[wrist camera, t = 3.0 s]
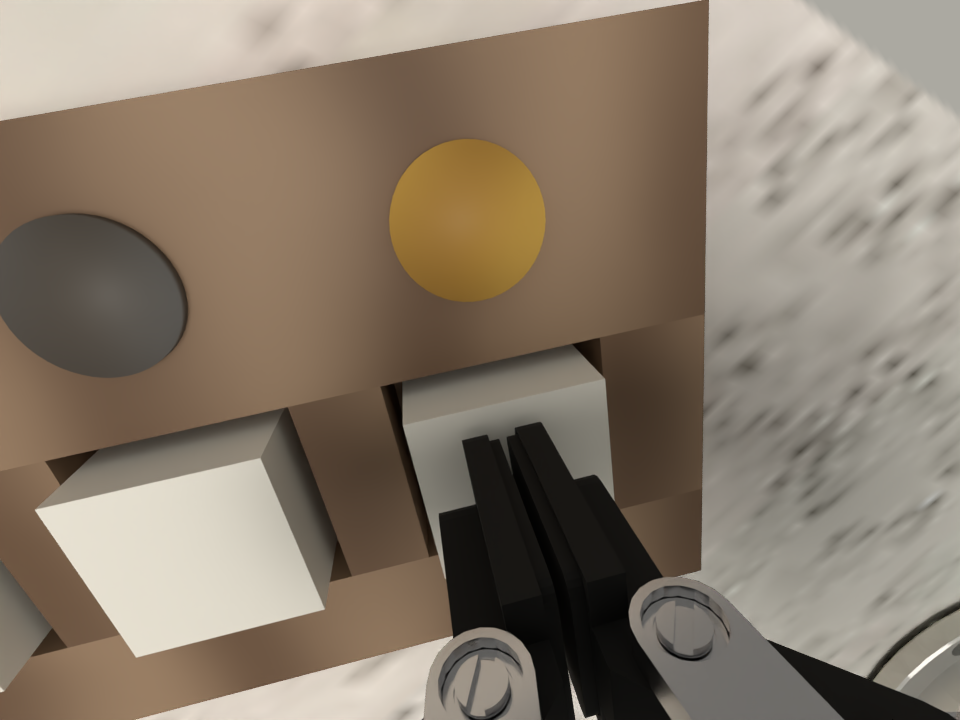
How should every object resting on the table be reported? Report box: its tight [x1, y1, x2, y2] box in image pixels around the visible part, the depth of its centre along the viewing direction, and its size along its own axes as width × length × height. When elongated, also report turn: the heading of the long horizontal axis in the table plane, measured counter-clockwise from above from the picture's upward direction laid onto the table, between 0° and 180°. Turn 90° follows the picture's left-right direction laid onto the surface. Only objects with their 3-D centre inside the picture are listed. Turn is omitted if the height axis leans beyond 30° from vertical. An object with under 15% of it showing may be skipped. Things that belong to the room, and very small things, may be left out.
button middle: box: [35, 407, 337, 658], centre depth 11 cm, size 4×4×2 cm
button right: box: [402, 344, 615, 579], centre depth 12 cm, size 4×4×2 cm
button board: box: [0, 0, 709, 720], centre depth 12 cm, size 24×14×4 cm, turn 100°
